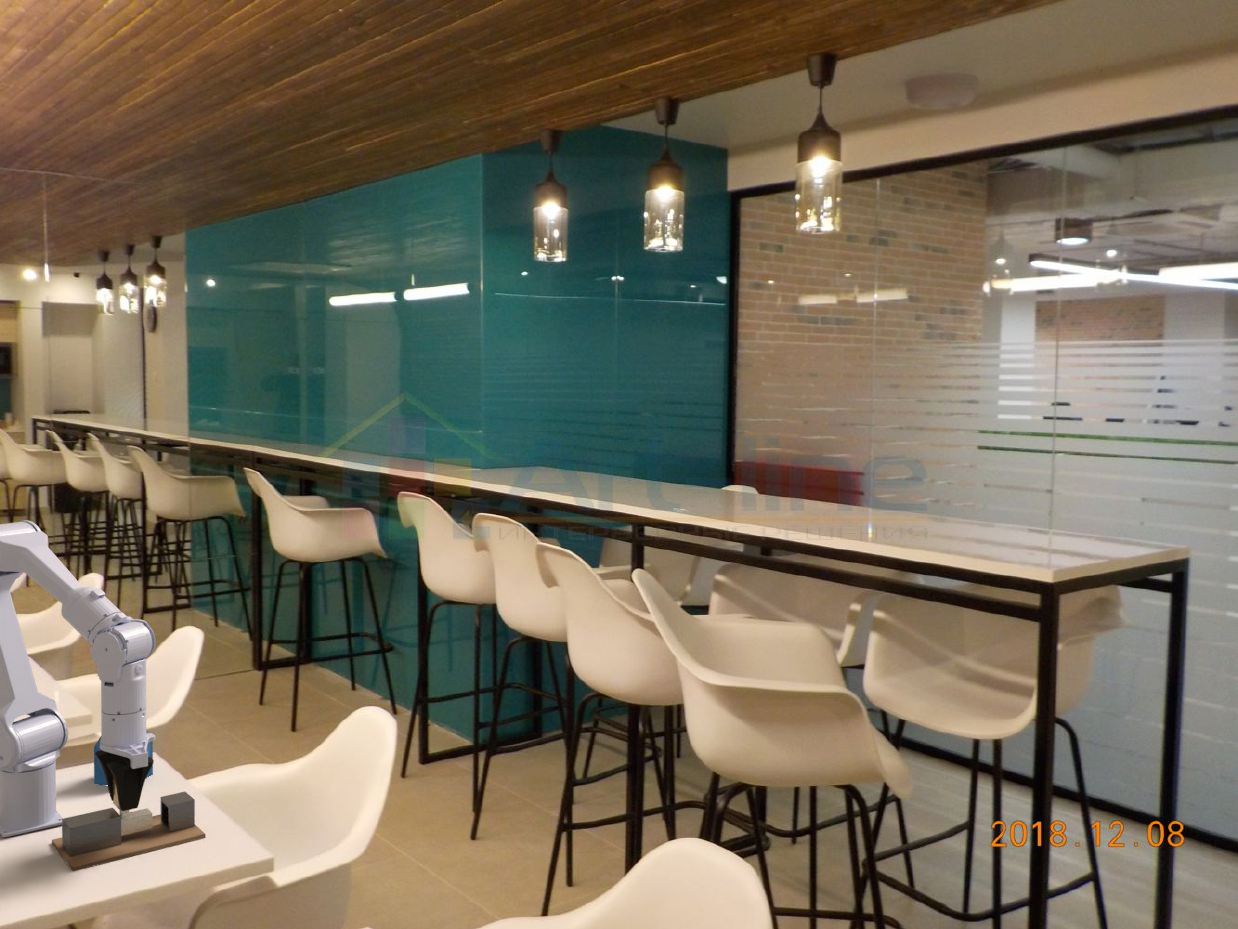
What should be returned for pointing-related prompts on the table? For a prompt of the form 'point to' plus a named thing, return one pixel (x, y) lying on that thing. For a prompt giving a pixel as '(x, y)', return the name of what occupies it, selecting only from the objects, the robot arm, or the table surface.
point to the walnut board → (132, 845)
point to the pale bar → (132, 817)
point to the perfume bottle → (98, 770)
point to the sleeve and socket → (106, 825)
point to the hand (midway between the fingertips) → (124, 804)
